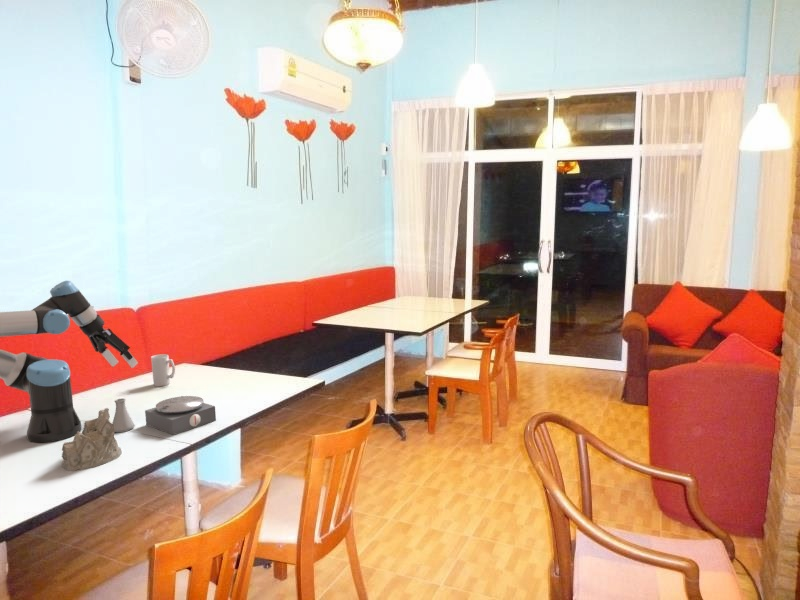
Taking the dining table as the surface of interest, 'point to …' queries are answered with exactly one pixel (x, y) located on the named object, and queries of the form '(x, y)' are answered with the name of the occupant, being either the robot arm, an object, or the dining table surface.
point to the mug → (162, 369)
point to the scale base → (180, 419)
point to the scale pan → (179, 404)
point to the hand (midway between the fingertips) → (125, 365)
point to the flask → (122, 417)
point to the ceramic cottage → (92, 444)
